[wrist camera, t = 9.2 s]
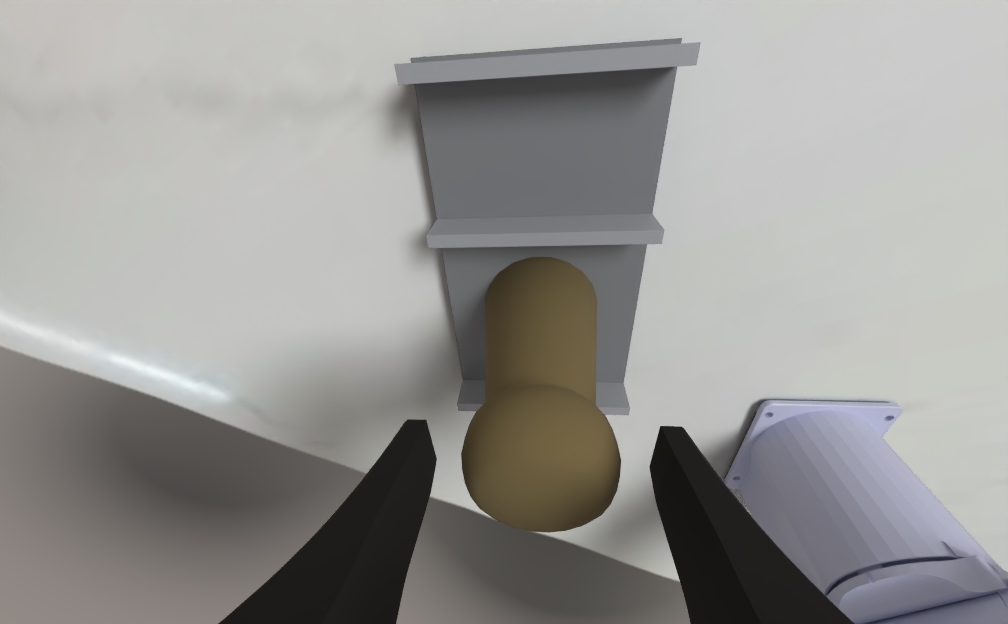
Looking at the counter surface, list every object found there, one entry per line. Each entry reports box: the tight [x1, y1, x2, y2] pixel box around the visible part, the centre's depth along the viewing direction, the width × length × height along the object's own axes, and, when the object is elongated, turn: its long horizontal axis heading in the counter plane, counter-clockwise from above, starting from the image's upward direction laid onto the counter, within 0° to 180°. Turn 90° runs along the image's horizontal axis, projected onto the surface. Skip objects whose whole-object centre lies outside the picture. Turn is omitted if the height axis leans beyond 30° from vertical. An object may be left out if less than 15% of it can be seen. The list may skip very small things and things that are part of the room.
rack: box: [395, 38, 701, 415], centre depth 18 cm, size 18×10×3 cm, turn 3°
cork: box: [461, 257, 621, 532], centre depth 15 cm, size 6×6×11 cm
